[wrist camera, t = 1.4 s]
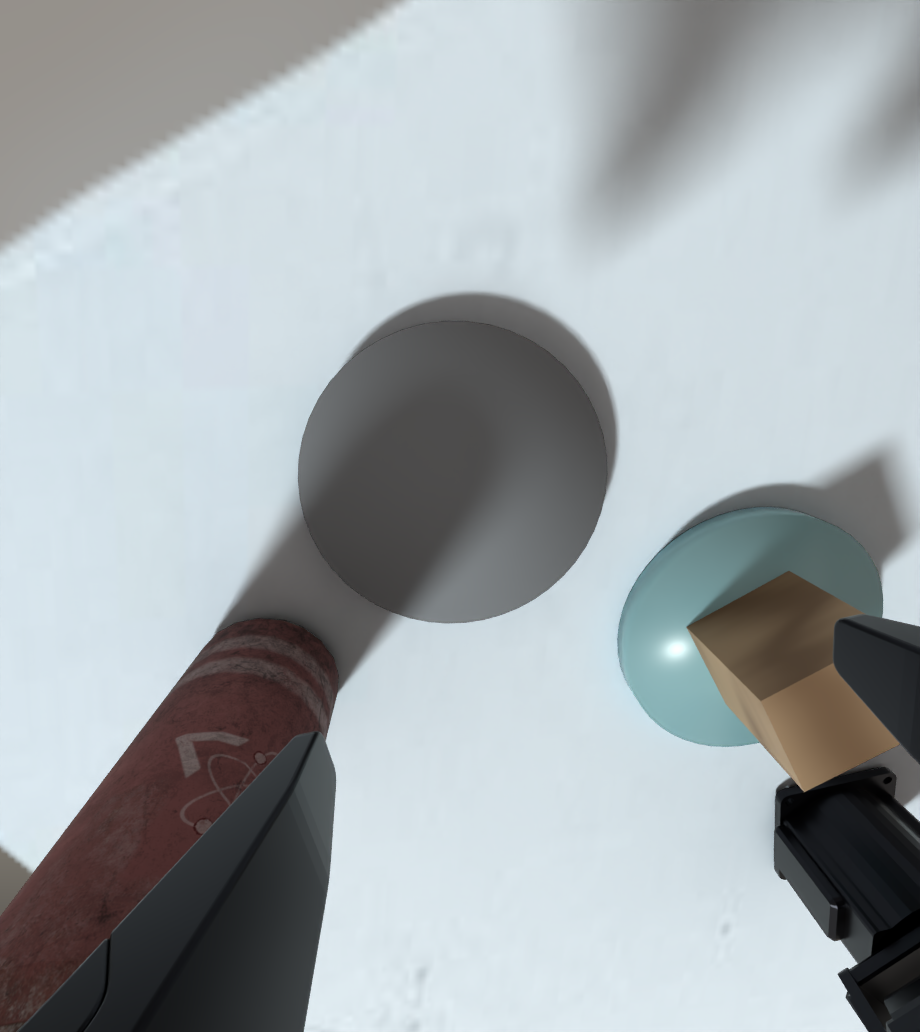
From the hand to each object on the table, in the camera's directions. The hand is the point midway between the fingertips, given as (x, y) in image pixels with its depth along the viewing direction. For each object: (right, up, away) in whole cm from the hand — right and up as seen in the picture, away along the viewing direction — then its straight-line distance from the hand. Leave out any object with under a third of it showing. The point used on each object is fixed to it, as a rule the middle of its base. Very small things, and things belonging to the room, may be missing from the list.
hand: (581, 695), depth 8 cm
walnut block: (+11, -3, +14) cm, 18 cm away
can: (-11, -4, +14) cm, 18 cm away
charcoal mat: (-2, +5, +12) cm, 13 cm away
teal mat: (+11, -2, +15) cm, 19 cm away
